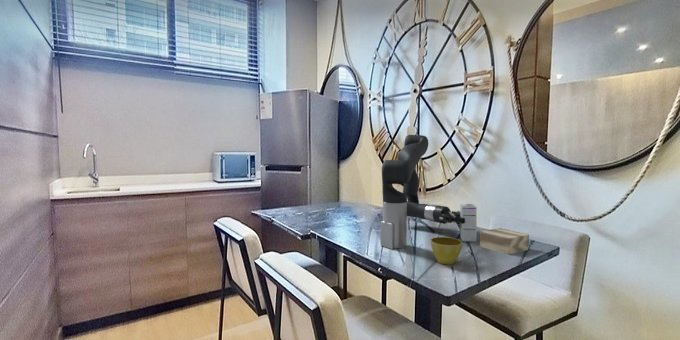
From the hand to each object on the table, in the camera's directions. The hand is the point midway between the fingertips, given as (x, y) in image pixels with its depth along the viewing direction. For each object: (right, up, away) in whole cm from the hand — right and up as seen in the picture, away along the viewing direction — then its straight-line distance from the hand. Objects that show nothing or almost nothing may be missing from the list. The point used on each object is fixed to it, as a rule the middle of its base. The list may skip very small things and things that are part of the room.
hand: (470, 219), depth 143 cm
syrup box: (-1, -9, +1) cm, 9 cm away
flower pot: (-18, -11, -26) cm, 34 cm away
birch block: (+9, -10, -10) cm, 17 cm away
